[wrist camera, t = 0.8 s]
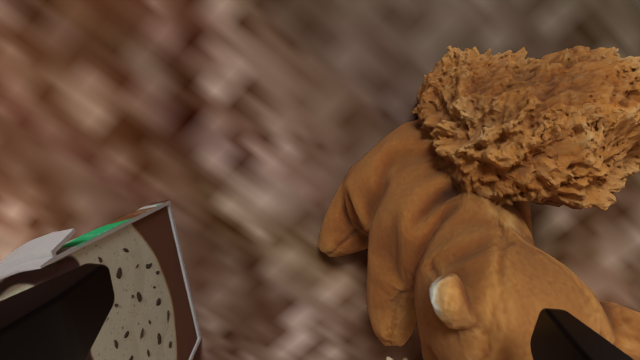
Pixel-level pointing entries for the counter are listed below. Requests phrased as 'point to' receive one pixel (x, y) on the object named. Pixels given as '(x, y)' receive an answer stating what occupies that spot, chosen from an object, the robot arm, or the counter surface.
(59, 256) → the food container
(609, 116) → the stuffed squirrel
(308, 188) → the counter surface
